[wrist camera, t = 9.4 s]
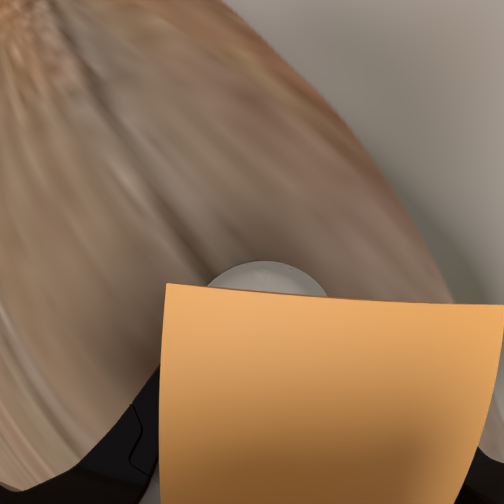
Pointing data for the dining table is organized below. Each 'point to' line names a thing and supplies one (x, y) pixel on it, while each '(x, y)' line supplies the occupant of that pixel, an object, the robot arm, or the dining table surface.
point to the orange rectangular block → (320, 397)
